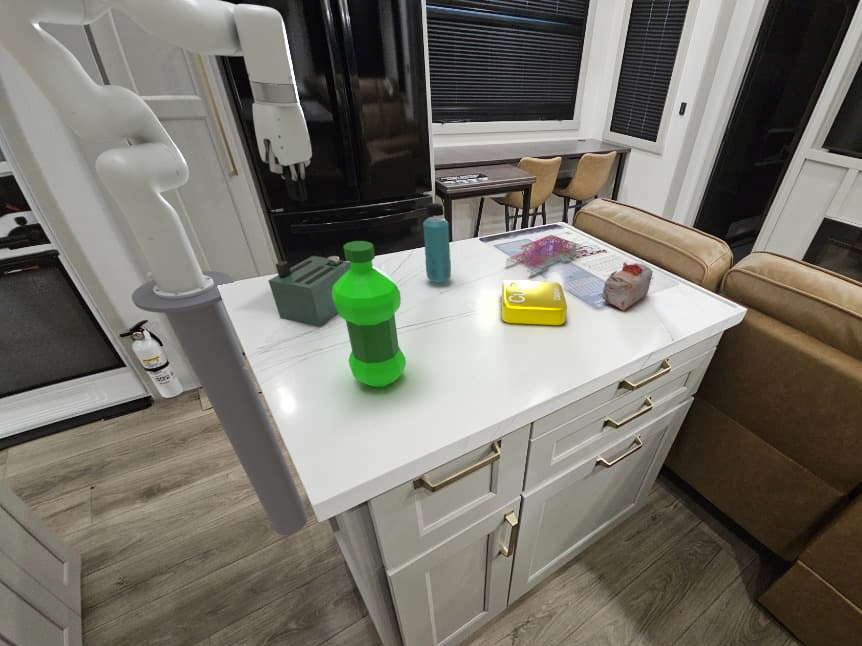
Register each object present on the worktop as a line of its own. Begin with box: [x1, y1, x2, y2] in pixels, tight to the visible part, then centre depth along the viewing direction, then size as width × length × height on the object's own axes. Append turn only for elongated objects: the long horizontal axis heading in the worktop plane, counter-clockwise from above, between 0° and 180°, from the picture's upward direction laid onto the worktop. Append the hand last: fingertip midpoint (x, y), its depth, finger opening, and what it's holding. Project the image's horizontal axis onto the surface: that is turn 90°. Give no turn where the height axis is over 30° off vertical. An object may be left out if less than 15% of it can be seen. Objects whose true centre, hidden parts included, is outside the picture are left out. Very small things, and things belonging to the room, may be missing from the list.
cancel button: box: [327, 255, 340, 267], centre depth 95 cm, size 2×2×2 cm
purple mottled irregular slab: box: [505, 234, 583, 278], centre depth 128 cm, size 30×15×5 cm, turn 140°
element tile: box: [501, 279, 568, 326], centre depth 101 cm, size 15×15×5 cm
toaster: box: [268, 255, 351, 327], centre depth 94 cm, size 10×15×9 cm, turn 166°
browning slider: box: [275, 260, 291, 277], centre depth 88 cm, size 2×2×2 cm
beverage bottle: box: [422, 202, 452, 283], centre depth 105 cm, size 6×7×20 cm
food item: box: [601, 261, 654, 311], centre depth 107 cm, size 14×8×10 cm, turn 140°
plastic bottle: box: [331, 240, 407, 388], centre depth 70 cm, size 10×10×25 cm
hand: (298, 199), depth 88 cm, fingers closed
